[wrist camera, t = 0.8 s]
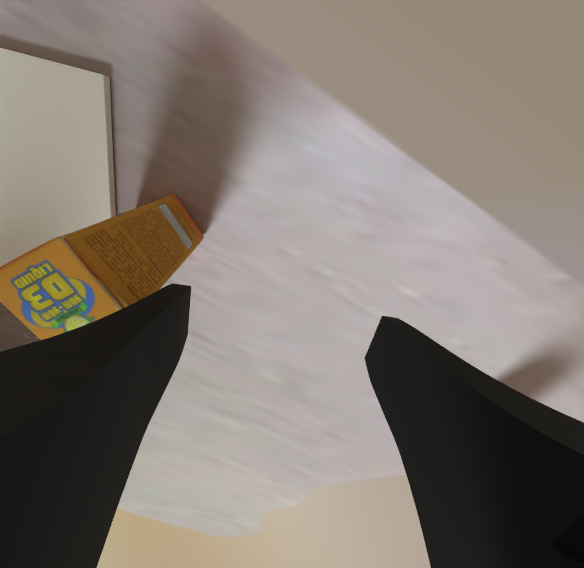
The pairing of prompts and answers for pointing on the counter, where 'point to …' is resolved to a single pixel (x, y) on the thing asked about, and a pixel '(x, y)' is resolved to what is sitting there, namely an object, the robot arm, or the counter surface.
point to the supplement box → (98, 267)
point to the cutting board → (52, 151)
